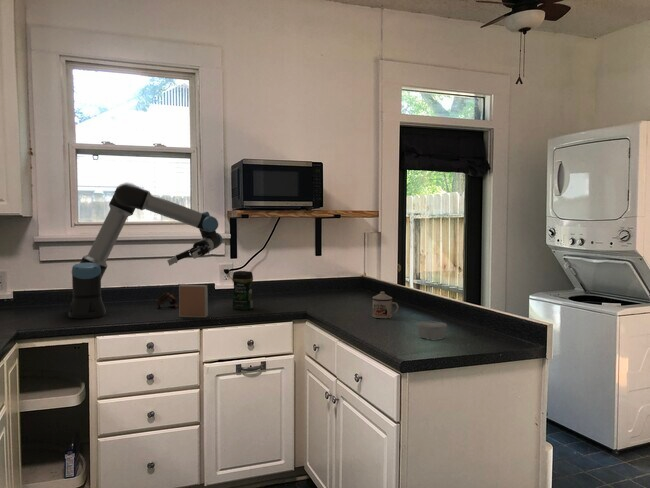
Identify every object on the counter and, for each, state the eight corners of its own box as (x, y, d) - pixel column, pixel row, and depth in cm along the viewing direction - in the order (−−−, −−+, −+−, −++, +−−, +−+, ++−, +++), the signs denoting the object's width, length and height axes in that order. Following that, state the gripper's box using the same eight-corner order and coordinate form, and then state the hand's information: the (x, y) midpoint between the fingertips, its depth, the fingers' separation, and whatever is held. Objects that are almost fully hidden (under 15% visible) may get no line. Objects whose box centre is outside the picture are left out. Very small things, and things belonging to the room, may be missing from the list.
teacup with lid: (369, 318, 225) (369, 292, 224) (376, 314, 233) (376, 289, 233) (395, 320, 220) (395, 294, 219) (401, 317, 228) (401, 291, 227)
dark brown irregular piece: (176, 310, 245) (166, 296, 243) (160, 318, 247) (150, 304, 245) (184, 300, 257) (175, 286, 255) (168, 307, 259) (160, 294, 257)
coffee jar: (230, 309, 245) (229, 271, 244) (237, 307, 252) (237, 269, 251) (248, 310, 242) (248, 272, 241) (255, 308, 249) (255, 270, 248)
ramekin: (442, 334, 195) (442, 320, 195) (450, 341, 184) (450, 327, 184) (413, 334, 195) (413, 320, 195) (420, 341, 184) (420, 327, 184)
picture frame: (179, 317, 227) (178, 285, 226) (181, 315, 230) (181, 284, 229) (205, 317, 226) (205, 286, 225) (207, 316, 229) (207, 285, 229)
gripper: (227, 247, 249) (207, 260, 230) (184, 259, 257) (162, 273, 237) (221, 233, 248) (201, 245, 228) (179, 246, 256) (156, 258, 236)
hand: (181, 259), depth 233 cm, fingers open, 13 cm apart
